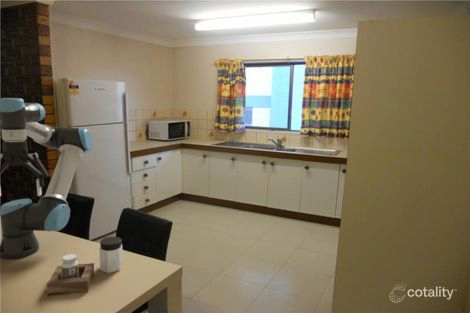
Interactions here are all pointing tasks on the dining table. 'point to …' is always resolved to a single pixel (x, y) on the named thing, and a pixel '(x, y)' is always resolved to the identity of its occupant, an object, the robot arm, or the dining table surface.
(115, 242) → the jar
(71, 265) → the pill bottle
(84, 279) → the socket block
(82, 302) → the dining table surface
